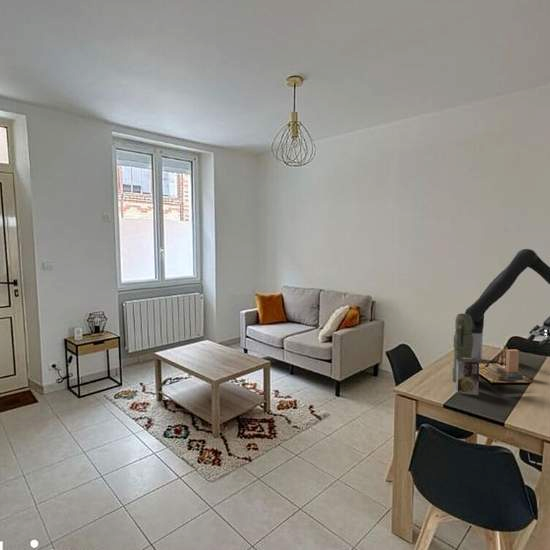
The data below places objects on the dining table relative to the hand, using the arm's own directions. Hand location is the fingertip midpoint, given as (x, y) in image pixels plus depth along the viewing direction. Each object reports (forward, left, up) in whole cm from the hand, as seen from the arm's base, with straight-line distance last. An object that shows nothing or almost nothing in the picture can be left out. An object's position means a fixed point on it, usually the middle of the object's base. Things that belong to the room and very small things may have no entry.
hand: (534, 343), depth 189 cm
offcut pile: (-16, -10, -17) cm, 26 cm away
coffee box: (-31, -34, -19) cm, 49 cm away
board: (-10, -6, -17) cm, 21 cm away
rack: (-12, -7, -19) cm, 24 cm away
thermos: (-33, -20, -19) cm, 43 cm away
